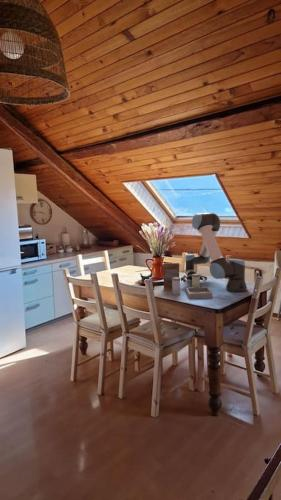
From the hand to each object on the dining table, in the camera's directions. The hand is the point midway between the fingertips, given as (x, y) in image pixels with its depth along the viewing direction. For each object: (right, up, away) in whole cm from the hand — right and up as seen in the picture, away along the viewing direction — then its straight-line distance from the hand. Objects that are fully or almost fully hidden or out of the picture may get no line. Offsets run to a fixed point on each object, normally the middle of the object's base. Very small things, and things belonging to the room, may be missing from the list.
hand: (195, 281), depth 263 cm
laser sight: (-36, -6, +18) cm, 41 cm away
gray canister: (-15, -9, -9) cm, 20 cm away
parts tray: (+1, -9, -12) cm, 15 cm away
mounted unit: (-17, -7, +6) cm, 19 cm away
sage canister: (+1, -7, +1) cm, 7 cm away
